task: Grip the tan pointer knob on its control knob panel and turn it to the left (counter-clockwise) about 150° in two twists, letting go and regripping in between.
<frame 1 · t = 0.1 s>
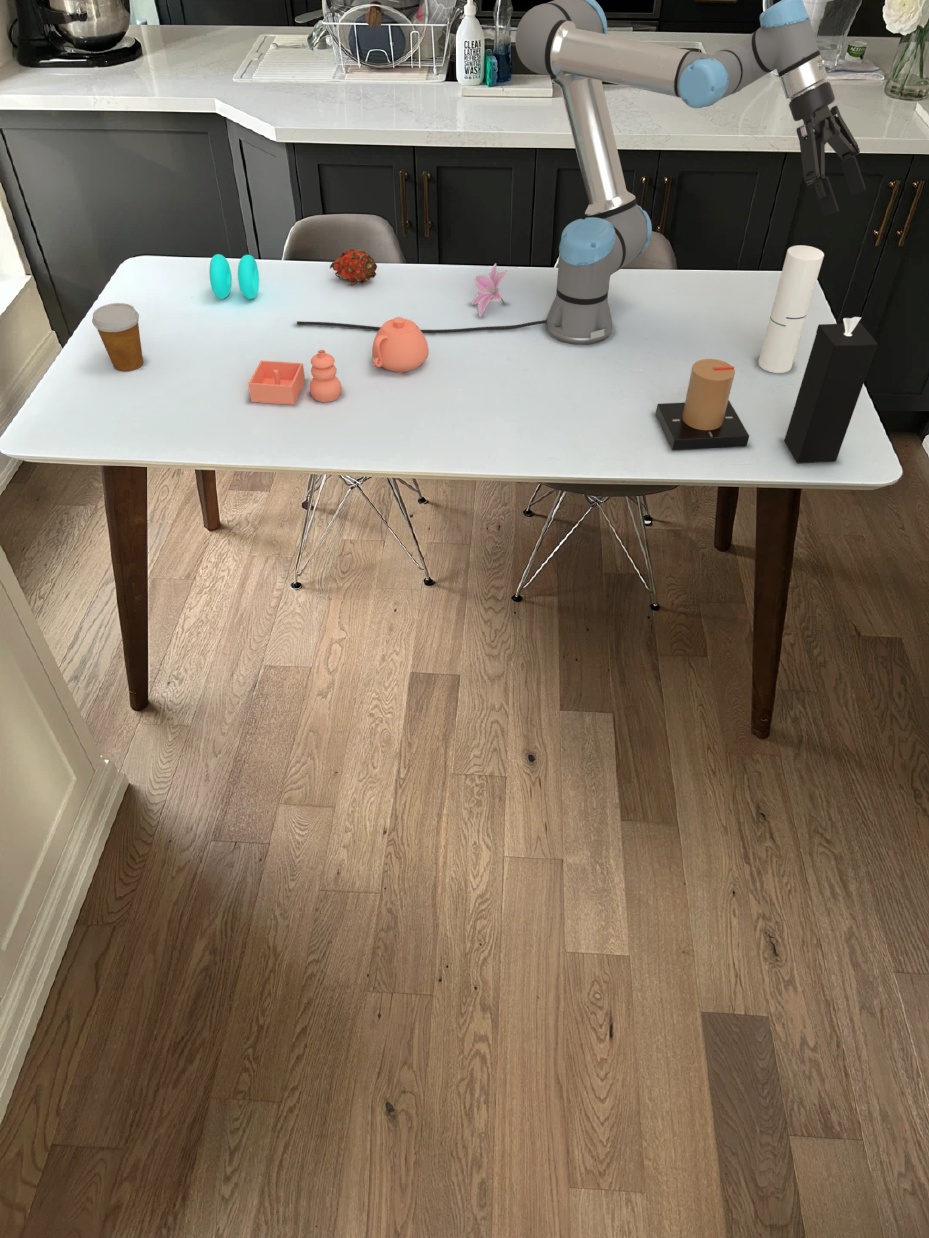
hand: (845, 203, 175), 36 cm above the table, tool tilted 35°, fingers open, 13 cm apart
cylindrical container: (774, 365, 203), on the table
terracotta box and gourd: (299, 393, 193), on the table
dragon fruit: (354, 282, 230), on the table
disposable coffee cup: (128, 365, 201), on the table
tissue box: (809, 452, 179), on the table
tan pointer knob: (708, 394, 178), point 8 cm above the table, hinge at 0.0°
lily: (488, 308, 221), on the table
control knob panel: (700, 430, 184), on the table
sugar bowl: (398, 365, 202), on the table
donuts: (238, 297, 224), on the table
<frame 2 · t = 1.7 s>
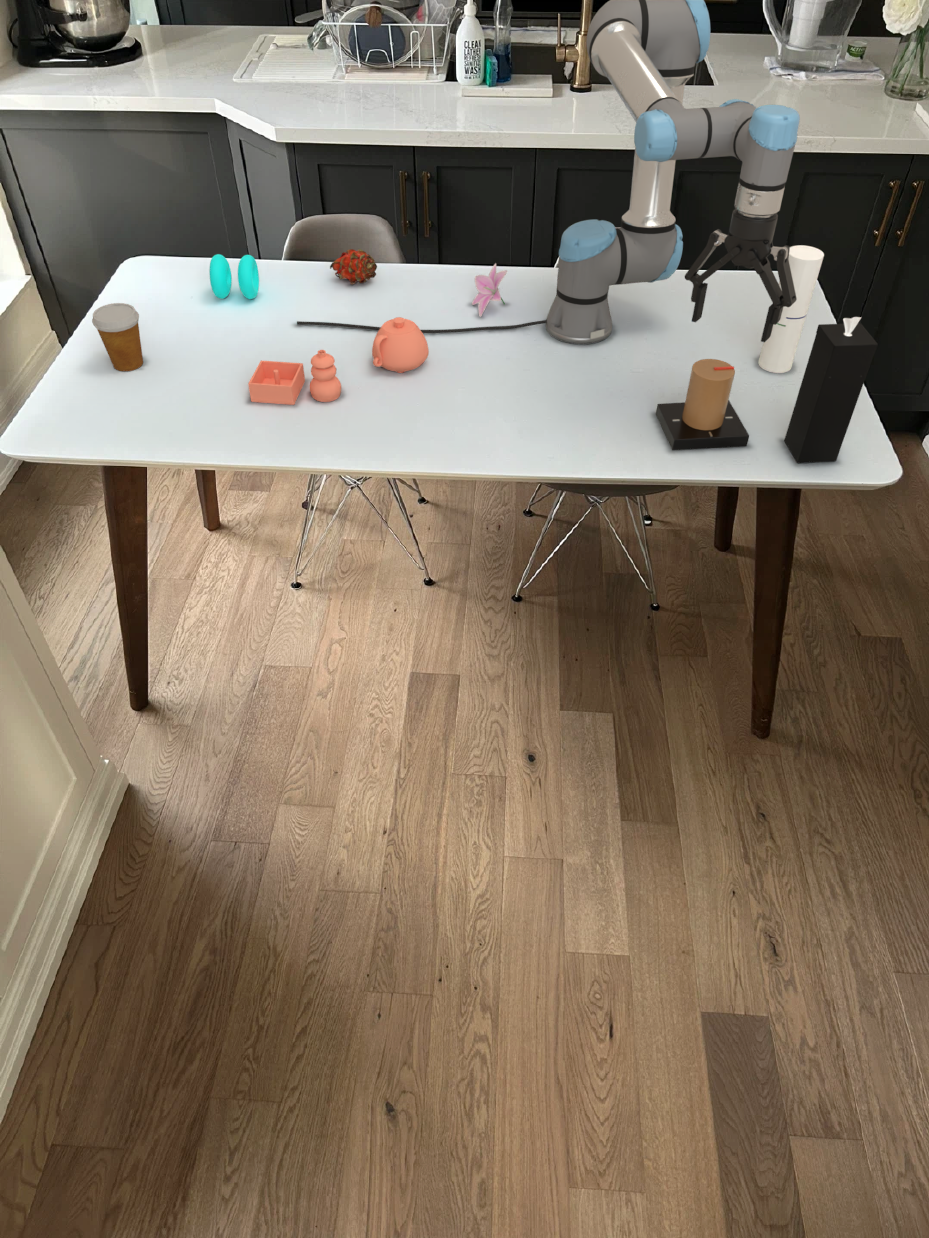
hand: (730, 329, 170), 21 cm above the table, tool pointing down, fingers open, 13 cm apart
nothing on the table moved.
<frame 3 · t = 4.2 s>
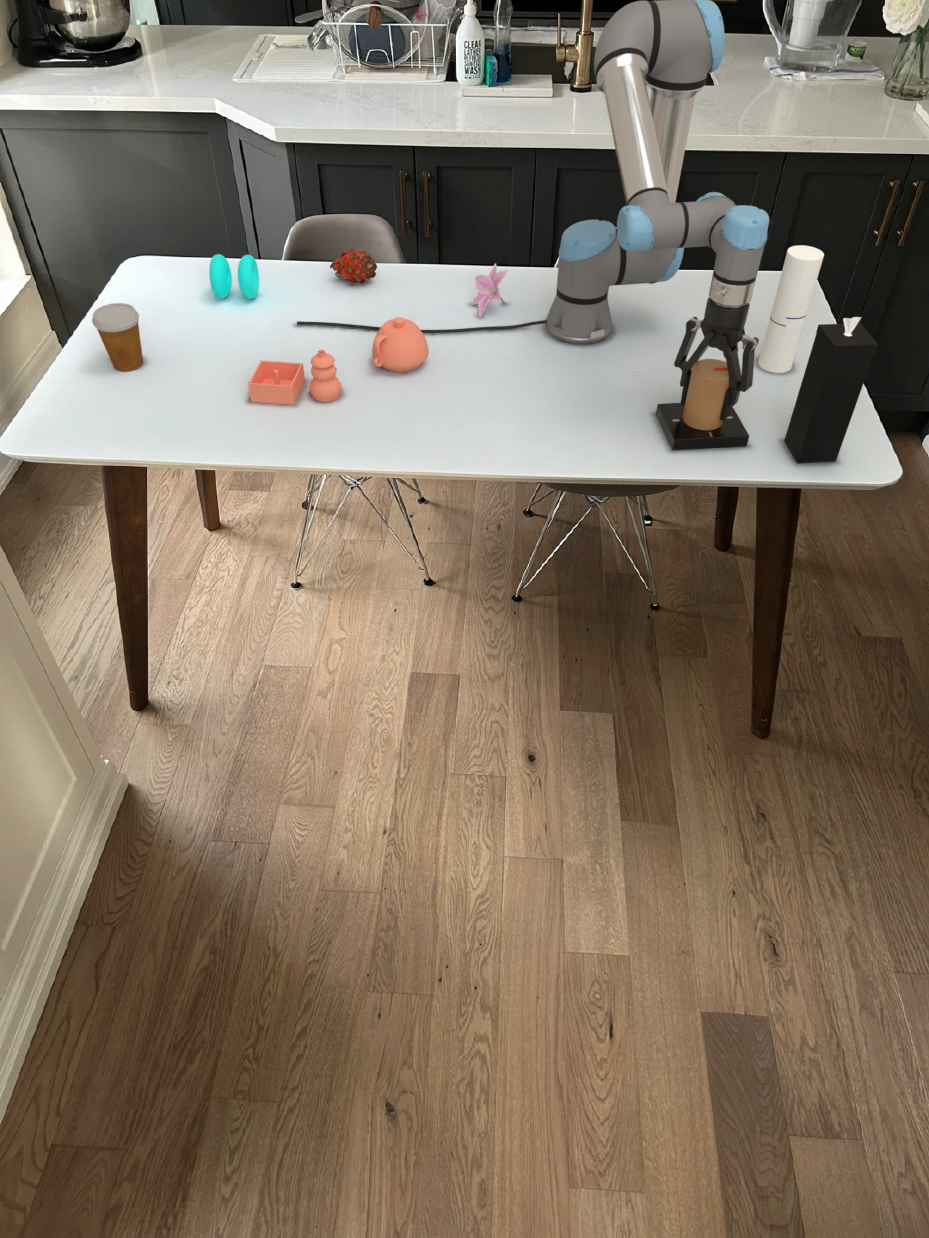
hand: (704, 409, 181), 5 cm above the table, tool pointing down, fingers closed on tan pointer knob, 8 cm apart
tan pointer knob: (708, 394, 178), point 8 cm above the table, hinge at -0.1°, touching gripper
everything else where it was.
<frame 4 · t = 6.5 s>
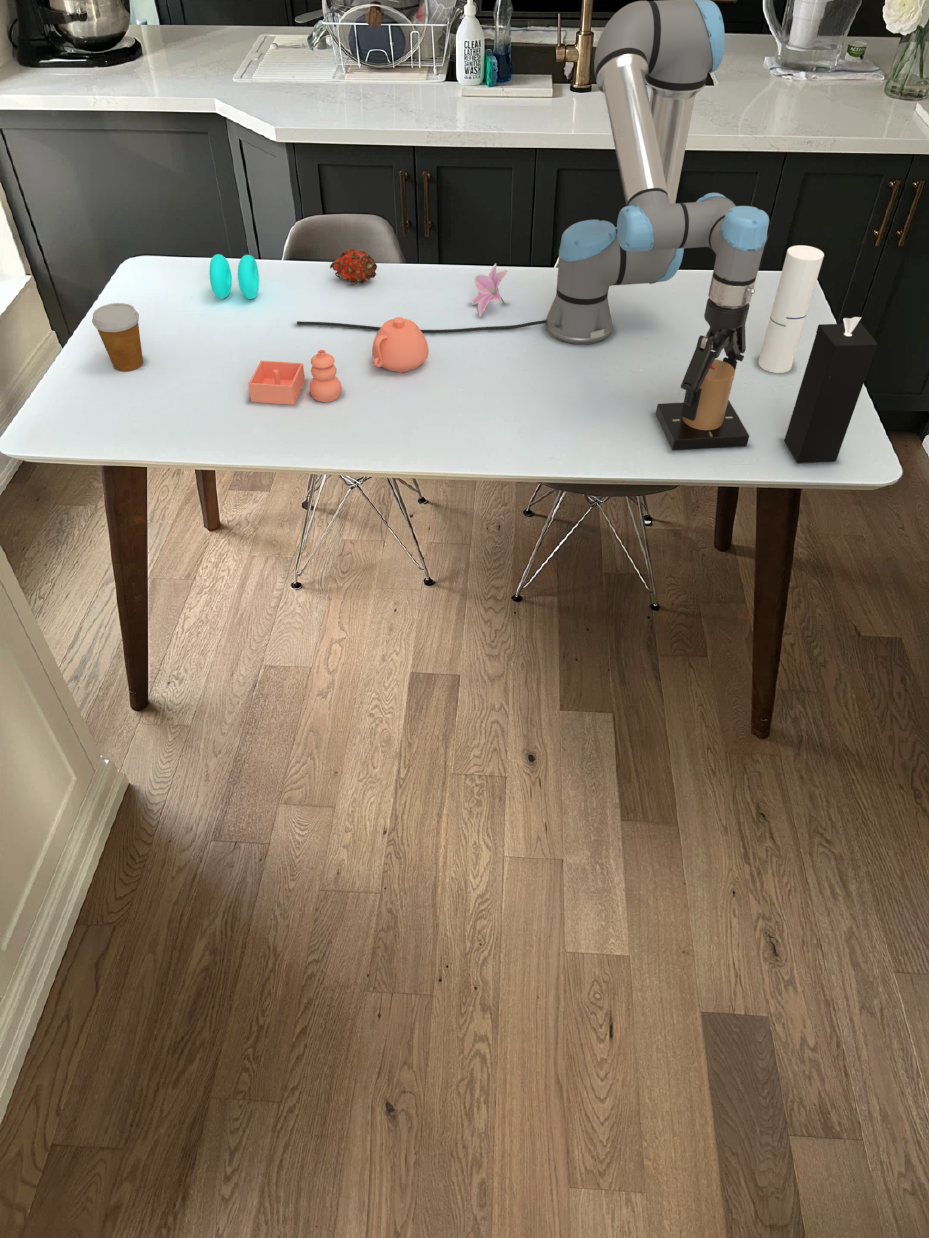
hand: (705, 403, 180), 6 cm above the table, tool pointing down, fingers open, 13 cm apart
tan pointer knob: (708, 394, 178), point 8 cm above the table, hinge at 90.2°
everything else where it was.
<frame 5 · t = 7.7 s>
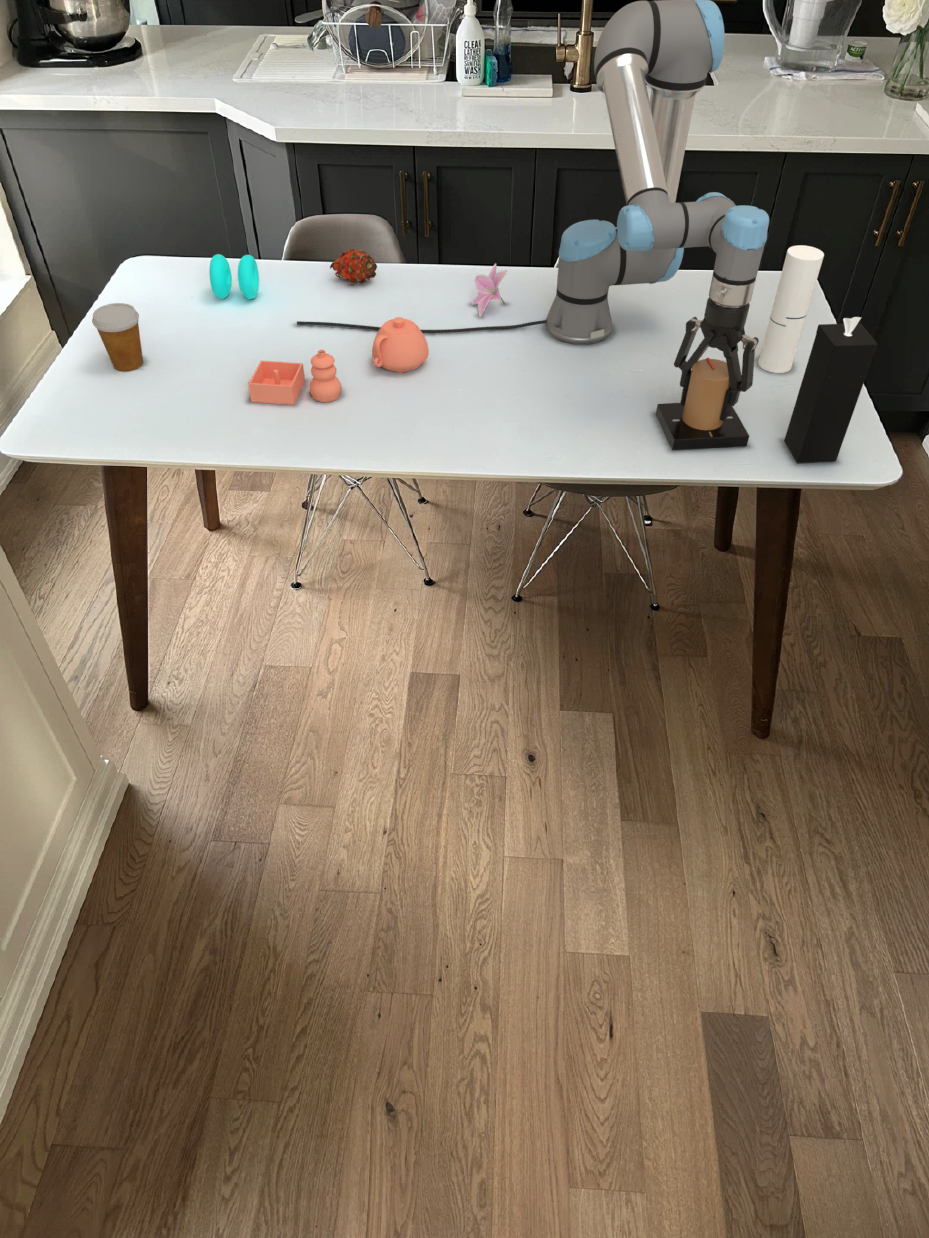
hand: (704, 409, 181), 5 cm above the table, tool pointing down, fingers closed on tan pointer knob, 8 cm apart
tan pointer knob: (708, 394, 178), point 8 cm above the table, hinge at 90.2°, touching gripper
everything else where it was.
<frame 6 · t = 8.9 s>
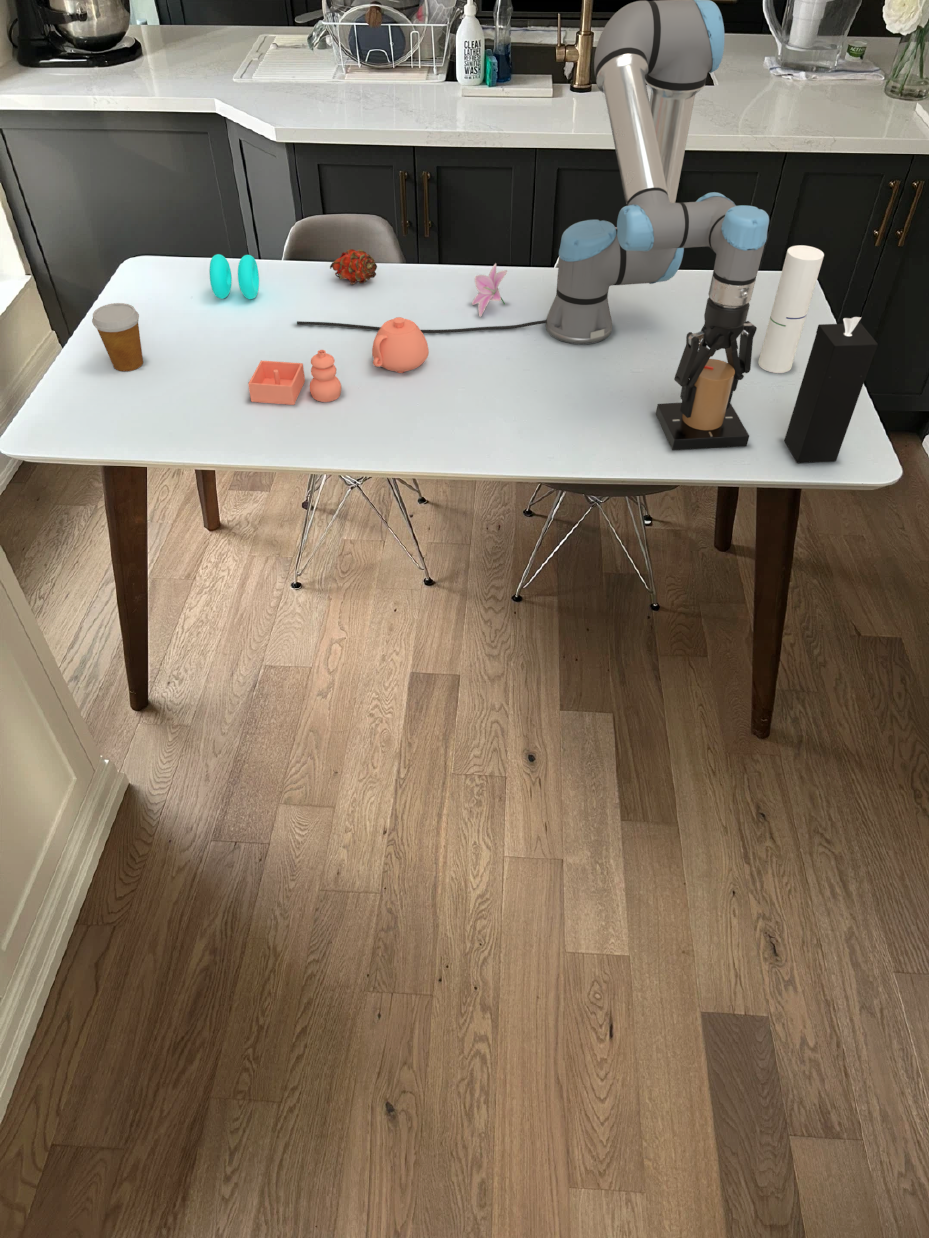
hand: (704, 409, 181), 5 cm above the table, tool pointing down, fingers closed on tan pointer knob, 8 cm apart
tan pointer knob: (708, 394, 178), point 8 cm above the table, hinge at 149.9°, touching gripper
everything else where it was.
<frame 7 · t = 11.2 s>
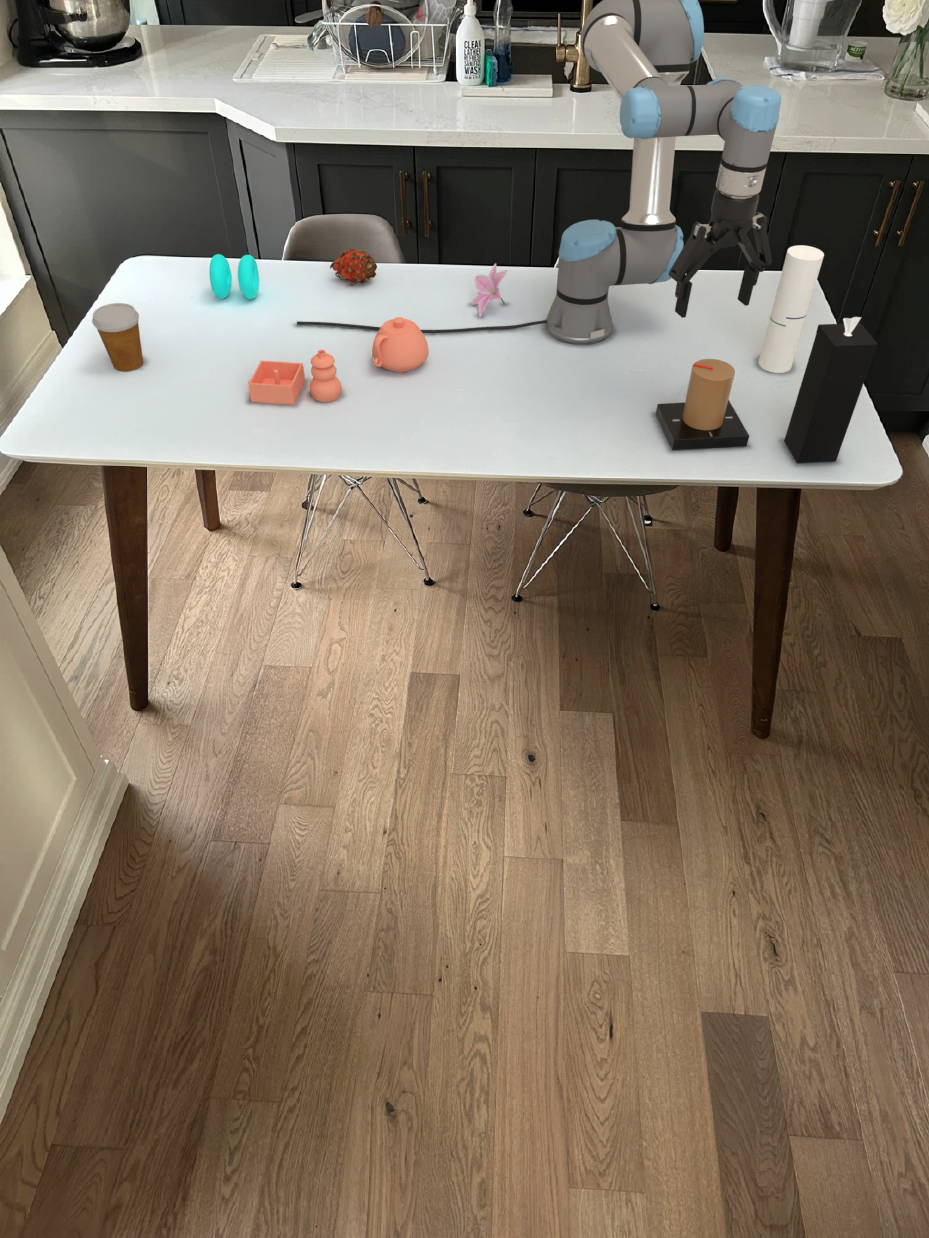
hand: (711, 308, 171), 23 cm above the table, tool pointing down, fingers open, 13 cm apart
tan pointer knob: (708, 394, 178), point 8 cm above the table, hinge at 150.0°
everything else where it was.
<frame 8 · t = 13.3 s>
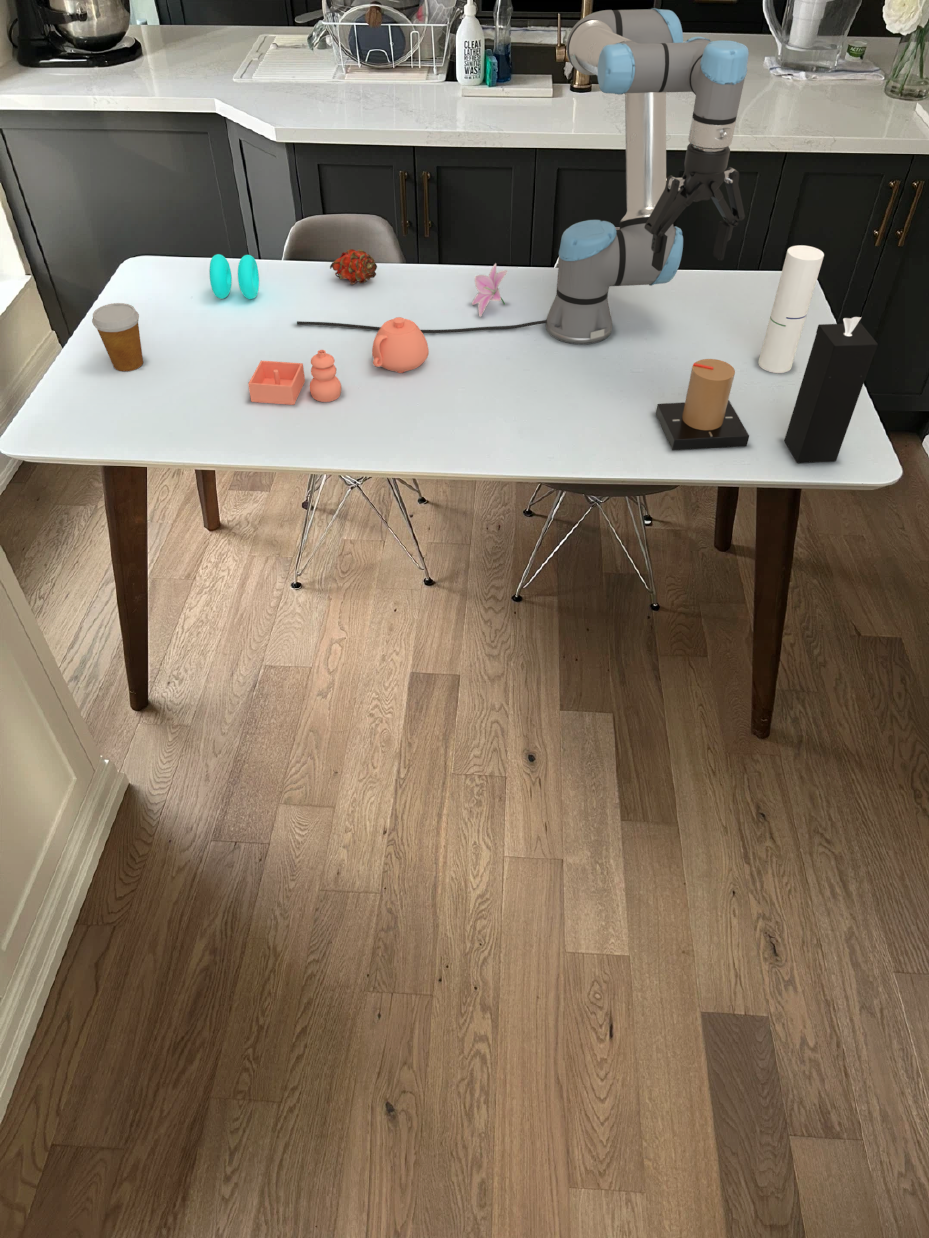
hand: (687, 263, 177), 27 cm above the table, tool pointing down, fingers open, 13 cm apart
nothing on the table moved.
at the end: tan pointer knob at +150° (first picture: +0°); the gripper is holding nothing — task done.
